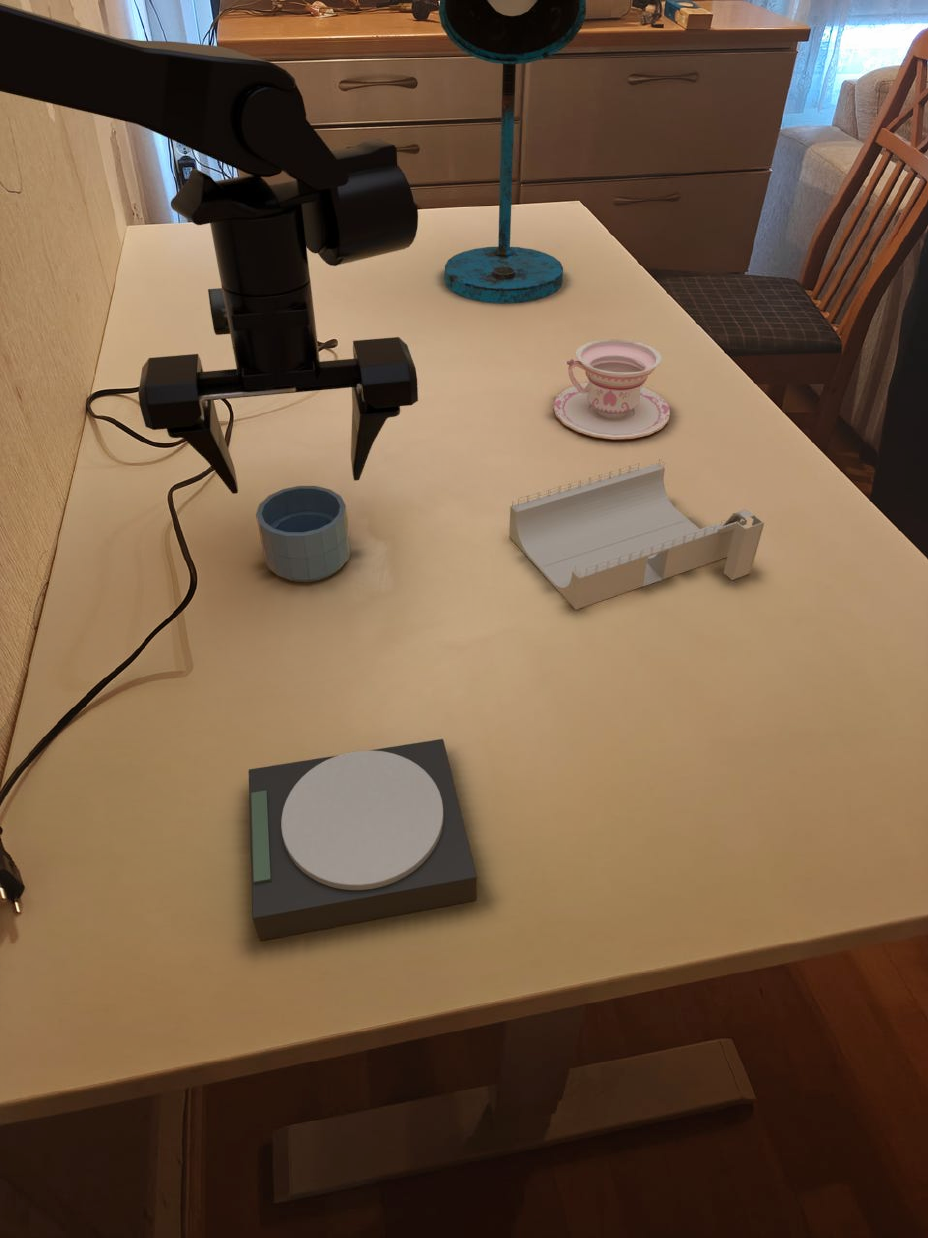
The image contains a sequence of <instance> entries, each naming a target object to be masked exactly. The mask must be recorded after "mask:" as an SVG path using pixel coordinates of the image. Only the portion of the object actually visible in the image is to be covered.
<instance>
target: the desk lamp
mask: <svg viewBox="0 0 928 1238" xmlns="http://www.w3.org/2000/svg"><path fill="white" fill-rule="evenodd" d="M586 2H587V1H586V0H439V6H438V16H439V21H440V24H441V28H442V30H443V31H444V32H445V35H446V36H447V37H448V39H449V40H450V41H451V43H453V45H456V47H458V49H460V50H461V51H462V52H464V53H466V54H468V55H470V56H471V57H474V58H476V59H477V60H478V59H479V60H482V61H485V62H489V63H492V64H502V83H501V84H502V85H501V117H500V118H501V120H500V121H501V122H500V158H499V159H500V160H499V161H500V164H499V167H500V168H499V199H498V200H499V201H498V202H499V203H498V204H499V205H498V207H499V208H498V242H497V244H498V246H484V247H478V248H473V249H469V250H465V251H462V252H459V253H457V254H455V255H453V256H451V258H449V259H448V260H447V261H446V263H445V265H444V283H445V286H446V287H447V288H448V289H449V290H450V291H451V292H452V293H455V294H456V295H459V296H460V297H463V298H465V299H469V300H472V301H479V302H483V303H484V302H485V303H493V304H518V303H519V304H520V303H527V302H532V301H537V300H540V299H545V298H547V297H549V296H551V295H553V294H556V293H557V292H558V291H559V289H560V288H562V285H563V281H564V280H563V279H564V266H563V264H562V262H561V261H560V260H559V259H557V258H556V257H555V256H553V255H550V254H548V253H546V252H544V251H539V250H536V249H533V248H526V247H520V246H511V228H512V223H511V222H512V197H513V168H514V167H513V165H514V164H513V162H514V135H515V134H514V133H515V108H516V107H515V105H516V104H515V103H516V74H517V73H516V72H517V71H516V69H517V65H520V64H529V63H532V62H536V61H540V60H543V59H546V58H549V57H550V56H552V55H554V54H557V53H559V52H560V51H561V50H562V49H564V48H566V47H567V46H568V45H569V44H570V43H571V42H572V41H573V40H574V39H575V37H576V36H577V35H578V33H579V32H580V30H581V29H582V26H583V24H584V21H585V18H586V15H587V3H586Z"/></svg>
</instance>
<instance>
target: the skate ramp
mask: <svg viewBox="0 0 928 1238" xmlns="http://www.w3.org/2000/svg"><path fill="white" fill-rule="evenodd" d="M636 465H638V466H637V467H634V466H636ZM664 465H665V462H663V464H662V462H661V459H660V458H659V460H658V462H656V463H654V464H650V465H647V466H642V467H640V463H639V462H638V463H635V464H631V465H628V466H625V467H621V468H619V469H614V470H612V471H608V472H605V473H601V474H598V475H594V476H591V477H588V478H583V479H580V480H577V481H574V482H573V481H572V482H570V483H567V484H563V485H561V486H556V487H552V488H549V489H546V490H542V491H539V492H535V493H532V494H528V495H525V496H522V497H519V498H517V502H519V503H515V502H514V501H513V500H512V503H511V504H512V505H510V507H509V508H510V509H509V530H508V531H509V533H508V536H509V539H510V540H512V542H513V543H514V544H515V545H516V546H517V547H518V548H519V550H521V551H522V553H523V554H524V555H525V556H526V557H527V558H528V559H529V560H530V561H531V562H532V564H533V565H534V566H535V567H536V568H537V569H538V570H539V572H540V573H541V574H542V575H543V576H544V577H545V578H546V579H547V580H548V581H549V583H550V584H551V585H552V586H553V587H554V588H555V589H556V590H557V591H558V592H559V594H560V595H562V597H563V599H565V601H567V602H568V604H570V606H571V607H572V608H573V609H574V610H575V611H576V610H580V609H582V608H585V607H588V606H591V605H594V604H597V603H599V602H603V601H605V600H608V599H611V598H614V597H617V596H619V595H622V594H625V593H629V592H631V591H634V590H637V589H640V588H643V587H645V586H648V585H651V584H654V583H657V582H661V581H663V580H665V579H669V578H672V577H675V576H677V575H680V574H682V573H687V572H688V571H691V570H694V569H697V568H700V567H703V566H706V565H708V564H711V563H714V562H718V561H720V560H723V559H726V561H725V566H724V570H723V574H724V575H725V576H726V577H728V579H730V580H731V581H733V580H736V579H740V578H742V577H745V576H746V575H751V574H752V573H751V572H752V570H753V569H752V568H753V566H754V562H755V558H756V554H757V551H758V547H759V543H760V540H761V536H762V533H763V530H764V526H765V522H764V521H763V520H761V519H760V518H759V517H757V516H756V515H755V513H753V512H752V511H751V510H749V509H743V510H740V511H736V512H734V513H732V514H730V516H729V518H728V519H727V520H724V522H723V521H720V522H718V523H714V524H712V525H709V526H704V527H701V528H700V527H698V526H697V525H696V524H695V523H693V522H692V521H691V520H690V519H689V518H688V517H687V516H686V515H684V514H683V513H682V512H681V511H680V510H679V509H677V508H676V507H675V506H674V505H673V503H672V501H670V498H669V496H668V494H667V490H666V487H665V486H666V485H665V481H664V478H665V477H664V476H665V469H666V468H665V466H664ZM632 466H633V467H632ZM627 468H628V469H629V470H628V469H627ZM622 469H623V470H622ZM624 469H626V470H624ZM616 471H618V472H616ZM613 472H615V473H613ZM608 473H609V475H605V474H608ZM602 475H605V476H602ZM595 477H598V478H595ZM592 478H595V479H592ZM586 480H588V481H586ZM582 481H585V482H582ZM574 483H577V484H576V485H572V484H574ZM567 485H568V486H567ZM564 486H567V487H564ZM561 487H564V488H561ZM557 488H560V489H558V490H554V489H557ZM551 490H554V491H551ZM547 491H548V492H547ZM543 492H544V493H545V492H547V493H545V494H544V493H543ZM541 493H543V494H541ZM533 495H537V496H534V497H530V496H533ZM523 498H526V499H523ZM520 499H523V500H520ZM519 500H520V501H519ZM749 518H751V519H752V523H751V526H748V527H744V526H745V525H747V524H748V519H749Z"/></svg>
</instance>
